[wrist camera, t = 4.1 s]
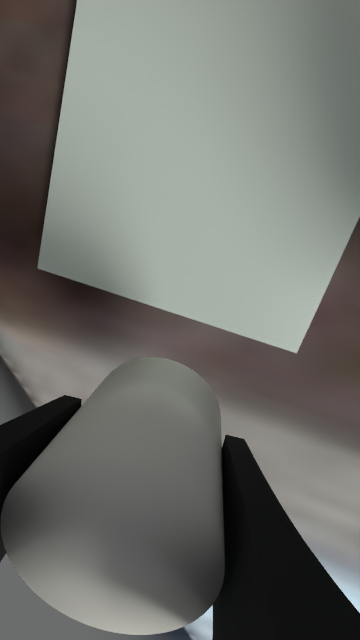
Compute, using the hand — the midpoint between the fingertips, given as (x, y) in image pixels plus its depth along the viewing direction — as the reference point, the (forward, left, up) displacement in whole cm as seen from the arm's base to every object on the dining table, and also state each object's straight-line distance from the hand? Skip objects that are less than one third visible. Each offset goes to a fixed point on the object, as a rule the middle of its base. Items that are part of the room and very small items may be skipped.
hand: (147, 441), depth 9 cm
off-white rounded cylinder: (0, 0, -1) cm, 1 cm away
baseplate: (+2, -11, -8) cm, 14 cm away
